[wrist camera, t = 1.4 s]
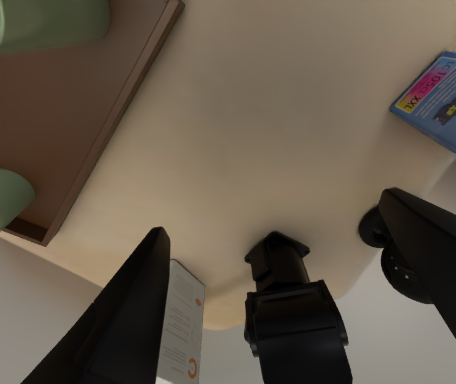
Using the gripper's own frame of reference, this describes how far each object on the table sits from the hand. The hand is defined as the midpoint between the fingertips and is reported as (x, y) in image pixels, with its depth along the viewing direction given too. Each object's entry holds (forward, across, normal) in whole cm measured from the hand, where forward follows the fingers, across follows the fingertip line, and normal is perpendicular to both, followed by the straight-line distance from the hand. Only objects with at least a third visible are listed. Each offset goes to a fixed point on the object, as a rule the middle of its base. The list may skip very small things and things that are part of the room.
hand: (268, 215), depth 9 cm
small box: (+12, +14, +23) cm, 30 cm away
